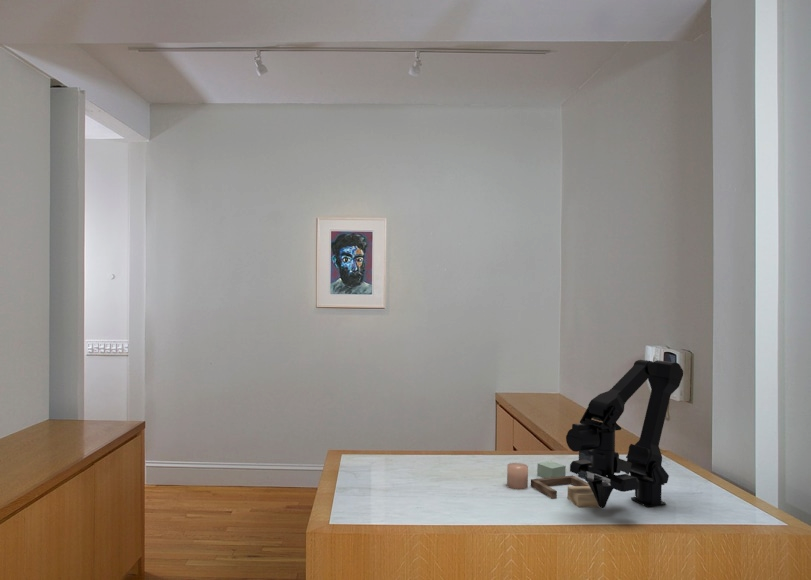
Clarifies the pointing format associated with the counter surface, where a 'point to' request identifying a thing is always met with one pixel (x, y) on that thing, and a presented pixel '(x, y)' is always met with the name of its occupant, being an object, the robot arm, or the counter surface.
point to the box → (583, 456)
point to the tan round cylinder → (517, 476)
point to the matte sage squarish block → (550, 469)
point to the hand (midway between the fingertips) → (602, 507)
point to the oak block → (582, 496)
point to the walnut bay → (555, 484)
